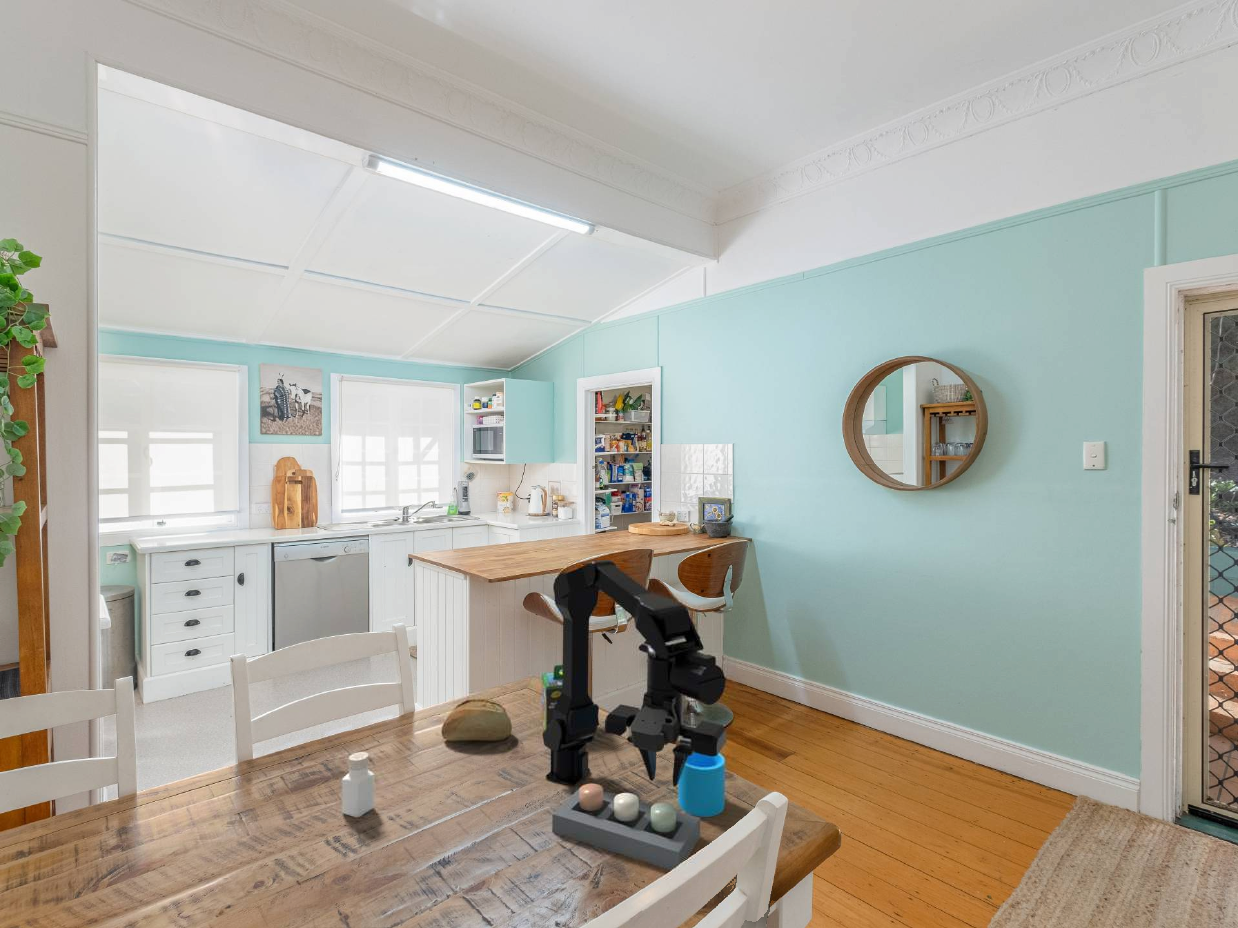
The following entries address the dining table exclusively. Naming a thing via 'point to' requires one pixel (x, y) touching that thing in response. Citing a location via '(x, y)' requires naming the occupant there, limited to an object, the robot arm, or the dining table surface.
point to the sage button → (663, 817)
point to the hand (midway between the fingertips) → (663, 782)
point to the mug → (702, 785)
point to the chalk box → (550, 694)
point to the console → (627, 832)
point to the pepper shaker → (358, 786)
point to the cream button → (626, 806)
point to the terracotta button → (591, 797)
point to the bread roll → (477, 721)
